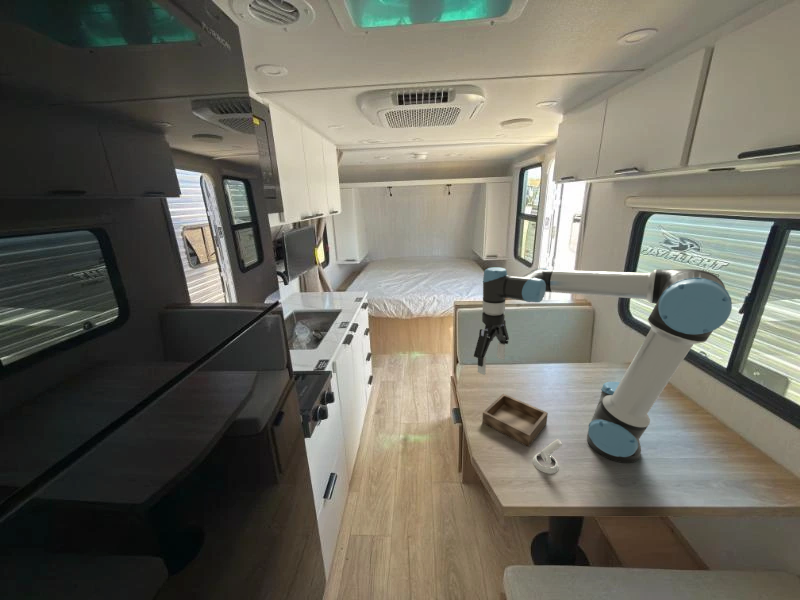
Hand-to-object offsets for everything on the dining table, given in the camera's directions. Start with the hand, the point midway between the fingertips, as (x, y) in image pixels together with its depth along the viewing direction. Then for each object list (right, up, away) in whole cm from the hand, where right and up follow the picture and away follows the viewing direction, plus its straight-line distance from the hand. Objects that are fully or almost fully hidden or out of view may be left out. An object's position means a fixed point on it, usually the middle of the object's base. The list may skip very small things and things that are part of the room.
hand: (491, 365), depth 113 cm
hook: (+13, -29, -14) cm, 35 cm away
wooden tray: (+10, -23, +4) cm, 25 cm away
